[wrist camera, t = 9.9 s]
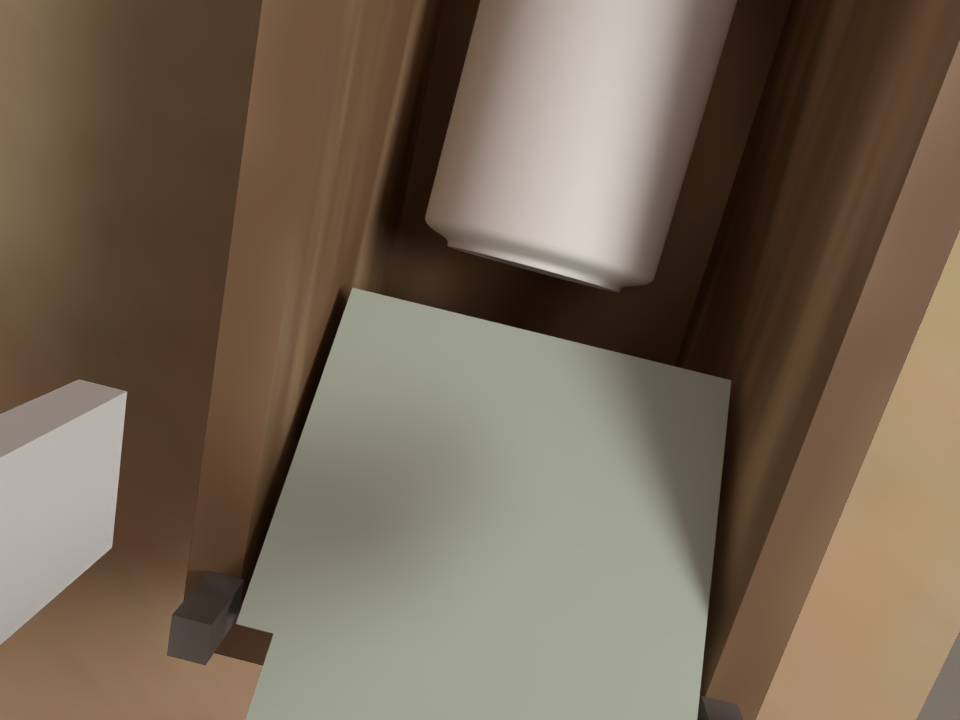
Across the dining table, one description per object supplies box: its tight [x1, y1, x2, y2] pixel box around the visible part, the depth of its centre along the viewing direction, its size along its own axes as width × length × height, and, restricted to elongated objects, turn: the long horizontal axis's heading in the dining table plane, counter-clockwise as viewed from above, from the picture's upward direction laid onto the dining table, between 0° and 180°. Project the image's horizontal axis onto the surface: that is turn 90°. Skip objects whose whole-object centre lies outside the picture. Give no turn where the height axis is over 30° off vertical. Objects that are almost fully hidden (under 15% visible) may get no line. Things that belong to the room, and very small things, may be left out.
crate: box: [167, 0, 960, 720], centre depth 22 cm, size 16×26×16 cm, turn 167°
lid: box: [236, 288, 731, 720], centre depth 18 cm, size 12×18×2 cm
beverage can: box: [425, 0, 737, 293], centre depth 23 cm, size 8×8×12 cm
